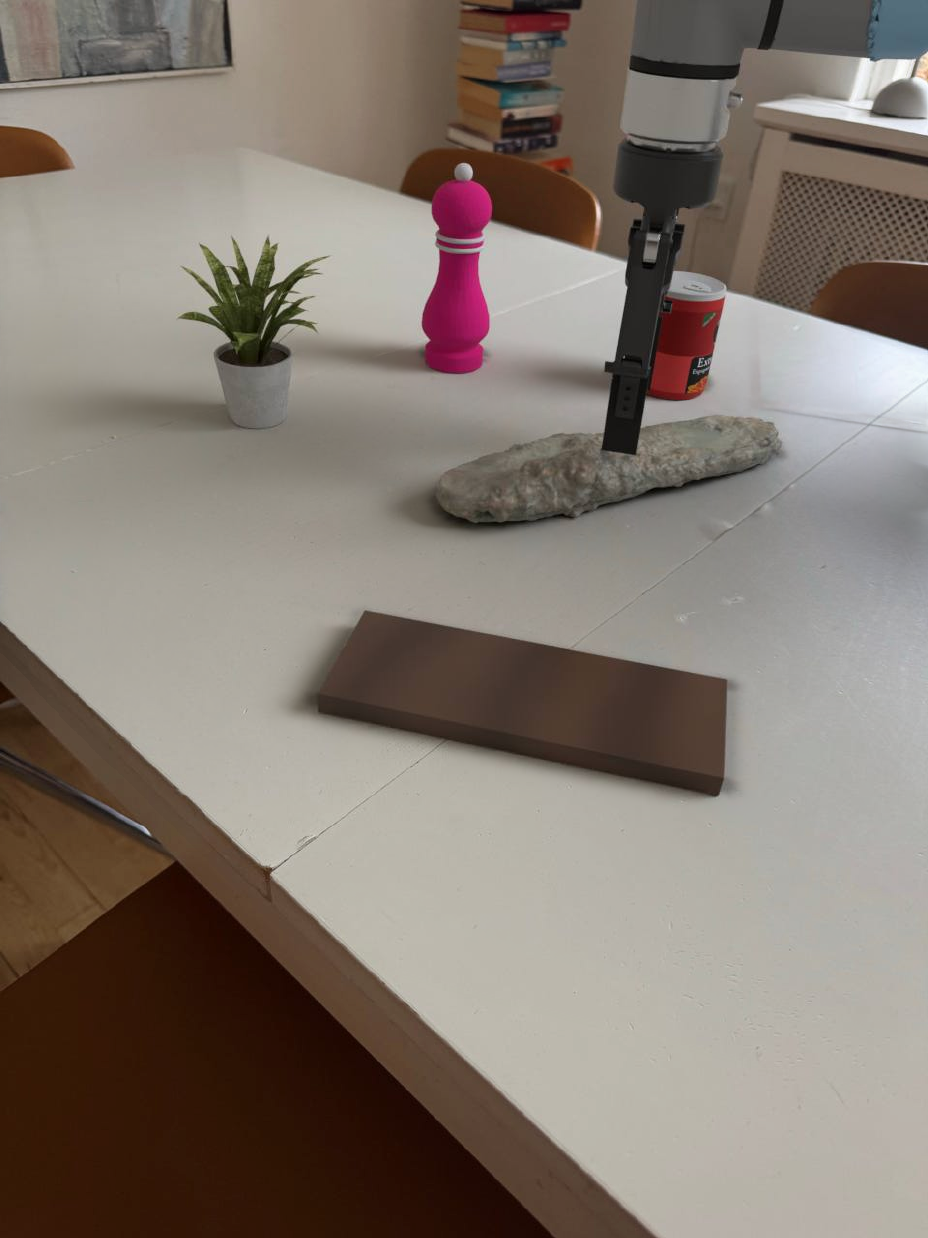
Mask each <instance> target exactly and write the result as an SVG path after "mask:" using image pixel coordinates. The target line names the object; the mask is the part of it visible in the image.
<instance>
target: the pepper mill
mask: <svg viewBox="0 0 928 1238" xmlns="http://www.w3.org/2000/svg"><path fill="white" fill-rule="evenodd" d="M473 173H474V172H473V168H472V166H471V165H470V164H469V163H467V162H461V163H459V164H457V165H456V166H455V168H454V177H455V179H452V180H449V181H446V182H444V183H443V184H441V185H440V186H439V187H438V188H437V189H436V191H435V192H434V194H433V197H432V201H431V216H432V219H433V221H434V223H435V224H436V225H437V227H438V229H437V230H436V232H435V237H436V238H435V239H436V240H435V242H434V245H435V247H436V248H437V249H438V257H439V258H438V259H439V261H438V269H437V275H436V280H435V282H434V285H433V288H432V290H431V292H430V293H429V295H428V297H427V300H426V302H425V305H424V307H423V311H422V314H421V315H422V316H421V329H422V331H423V333H424V335H425V336H426V338H428V340H429V341H428V342H427V343H426V344H425V348H424V349H425V350H424V361H425V364H426V365H427V366H428V367H430V368H431V369H433V370H435V371H438V372H442V373H449V374H466V373H471V372H474V371H476V370H479V369H480V368H481V367H482V366H483V361H484V347H483V345H481V342H482V341H483V340H484V339H485V338H486V337H487V336H488V334H489V333H490V328H491V327H490V326H491V325H490V324H491V322H490V312H489V307H488V303H487V301H486V297H485V294H484V292H483V288H482V285H481V281H480V273H479V270H480V269H479V263H480V262H479V261H480V255H481V252H483V250H484V249H485V247H486V245H485V239H486V234H485V233H483V231H484V229H485V228H486V227H487V225H488V224H489V223H490V222H491V219H492V213H493V212H492V211H493V205H492V199H491V196H490V194H489V192H488V191H487V189H486V188H485V187H484V186H483V185H481V184H480V183H478V182H476V181H473V180H472V178H473V176H474V175H473Z"/></svg>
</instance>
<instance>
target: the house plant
mask: <svg viewBox="0 0 928 1238" xmlns="http://www.w3.org/2000/svg"><path fill="white" fill-rule="evenodd" d="M231 241H232V245H233V251H234V255H235V259H236V260H235V261H236V265H237V267H236V266H231V265H224V263H222V261H221V260H219V258H218V257H217V256H215V254H214V253H213V252H212V250H211V249H210V248H209V247H207V246H205V245H204V244H201V242H199V243H198V244H199V247H200V249H201V251H202V254H203V255H204V257H205V259H206V262H207V264H208V267H209V268H210V271H211V273H212V276H213V279H214V282H215V284H216V289H217V292H218V293H217V292H216V291H215V290H214V288H213V287H212V286H211V285H210V284H209V283H208V282H207V281H205V280H204V279H203V278H202V277H201V275H199V274H198V273H196V272H194V271H193V270H191V269H189V268H187V267H185V266H183V265H180V267H181V269H183V270H184V272H186V273H188V274H189V275H190V276H191V277H193V278H194V280H195V281H196V282H197V283H198V285H199V286H200V287H201V288H202V289H203V290H204V291H205V292H206V293H207V294H208V295H209V296H210V298H212V300H213V301H214V303H215V304H216V305H211V306H209V307H208V311H209V313H210V314H211V315H212V316H213V317H214V318H213V317H211V316H209V315H207V314H204V313H202V312H198V311H188V312H185V313H183V314H181V315H180V316H178V317H177V320H179V319H180V320H181V319H182V320H188V321H196V322H201V323H204V324H207V325H211V326H214V327H216V328H217V329H218V330H219V331H221V332H222V333H224V334H225V336H226V337H227V338H228V339H229V342H225V343H223V344H221V345H219V346H218V347H216V348H215V349H214V351H213V353H212V354H213V358H214V362H215V365H216V370H217V373H218V378H219V380H220V385H221V389H222V392H223V396H224V400H225V403H226V404H225V405H226V407H227V410H228V415H229V418H230V420H231V421H232V422H233V423H234V424H235V425H236V426H238V427H241V428H246V429H256V430H257V429H259V430H260V429H267V428H273V427H276V426H278V425H280V424H282V423H283V422H284V421H285V420H286V417H287V408H288V402H289V401H288V399H289V393H290V383H291V376H292V375H291V374H292V367H293V366H292V365H293V358H294V352H293V350H292V349H291V348H290V347H289V346H288V345H286V344H284V343H282V342H281V341H282V340H283V339H285V338H286V336H288V335H289V334H290V333H291V332H292V331H293V330H294V328H292V329H291V330H290V331H289V332H288V333H287V334H286V335H284V336H283V337H282V338H281V339H280V340H279V341H275V340H274V339H275V338H276V336H277V334H278V332H279V331H280V329H281V327H284V326H286V325H297V326H295V328H297V327H298V326H302V327H307V328H309V329H312V330H313V331H314V332H316V333H317V334H319V332H318V330H317V329H316V327H315V326H314V325H318V323H317V322H314V321H309V320H305V319H302V318H301V319H300V318H294V317H296V316H298V315H300V314H302V313H304V312H308V310H307V309H304V308H302V307H299V306H300V305H301V304H303V302H305V301H307V300H309V299H312V298H315V297H316V295H310V296H305V297H302V298H299V299H297V300H296V301H289V300H286V298H287V296H288V294H300V295H301V294H302V293H301V292H298V291H297V290H292V289H293V287H294V286H295V285H296V284H297V283H298V282H299V281H300V280H302V279H306V278H309V277H311V276H312V277H313V276H314V275H323V273H321V272H318V270H319V268H309V267H310V266H312V265H313V264H316V263H317V262H320V261H323V260H325V259H327V258H329V257H332V256H333V255H325V256H321V257H317V258H314V259H311V260H309V261H306V262H304V263H303V264H301V265H300V266H297V268H295V269H294V270H293V271H291V272H290V273H289V275H287V276H286V278H284V280H282V281H280V282H277V283H275V284H273V285H271V282H272V280H273V279H272V278H273V276H274V273H275V270H276V263H275V256H276V254H277V252H278V248H279V247H278V245H279V244H280V242H277V243H275V244H273V245H272V246H271V241H270V234H268V235H267V236H266V240H265V241H264V244H263V247H262V251H261V254H260V257H259V260H258V263H257V266H256V268H255V270H254V271H255V272H254V275H253V279H252V283H251V278H250V273H249V269H248V266H247V264H246V261H245V259H244V257H243V255H242V252H241V250H240V247H239V245H238V243H237V241H236V240H235V238H234V237H233V235H232V234H231ZM227 268H230V269H231V271H232V272H233V273H234V275H235V277H236V279H237V282H238V284H233V282H232V278H231V277H230V274H229V272H228V270H227ZM308 268H309V269H308ZM316 271H317V272H316ZM270 285H271V286H270ZM273 292H274V294H272V293H273ZM270 294H272V297H271V298H270V300H269V301H268V303H267V304H266V299H267V297H268V296H269V295H270ZM289 303H290V304H291V305H289V306H288V307H286V308H284V309H282V311H280V308H281V307H282V305H287V304H289ZM265 304H266V306H265ZM279 311H280V312H279Z"/></svg>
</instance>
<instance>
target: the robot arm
mask: <svg viewBox="0 0 928 1238" xmlns="http://www.w3.org/2000/svg"><path fill="white" fill-rule="evenodd" d="M745 49H756V50H759V51H760V50H761V51H769V50H774V51H783V52H784V51H785V52H793V53H794V52H795V53H804V54H814V55H824V56H825V55H826V56H835V57H836V56H838V57H848V58H849V57H850V58H860V59H861V58H862V59H869V61H870V62H879V61H881V60H902V61H903V60H905V61H906V60H910V61H912V60H917V59H920V58H922V57H923V56H925V55H926V54H927V53H928V0H636V5H635V14H634V22H633V31H632V40H631V49H630V58H629V65H628V67H627V69H626V77H625V85H624V92H623V100H622V109H621V116H620V122H619V123H620V125H619V128H620V129H621V131H622V132H623V133H624V134H625V135H626V137H625V138H622V140H621V142H619V143H618V144H617V152H616V159H615V160H616V161H615V168H614V175H613V184H612V189H613V192H614V194H615V195H616V196H617V197H618V198H620V199H621V200H623V201H625V202H628V203H631V204H634V203H636V204H639V205H640V206H642V207H643V214H642V218H633V220H632V226H630V229H629V232H628V233H629V234H628V239H627V252H628V256H627V263H626V266H625V267H626V269H625V273H624V284H625V286H626V293H625V298H624V303H623V310H622V317H621V321H620V328H619V333H618V340H617V343H616V344H617V346H616V351H615V357H614V360H613V361H607V360H605V362H604V367H603V373H606V374H612V375H611V383H610V388H609V396H608V402H607V408H606V416H605V423H604V430H603V433H604V436H603V443H602V450H604V451H610V452H617V453H624V454H630V455H636V452H637V446H638V440H639V434H640V428H642V422H643V417H644V411H645V404H646V399H647V398H646V397H647V394H646V393H647V390H650V388H651V383H652V377H653V371H654V366H655V360H656V354H657V348H658V342H659V336H660V331H661V325H662V319H663V315H658V314H659V312H662V313H669V314H671V309H672V303H673V300H666V299H665V295H667V292H668V290H669V289H670V286H671V281H672V276H673V271H675V267H676V264H677V259H678V258H679V257H680V255H681V250H682V246H683V240H684V235H685V230H686V223H678V218H679V213H680V209H687V210H693V209H699V208H704V207H707V206H709V205H710V204H711V203H712V202H714V200H715V198H716V196H717V192H718V191H717V190H718V185H719V180H720V176H721V175H720V174H721V171H722V164H723V159H724V152H723V151H722V148H721V147H720V146H719V145H717V143H719V142H722V141H723V140H724V139H725V138H726V137H727V133H728V128H729V122H730V118H731V112H730V110H729V109H738V108H741V106H742V105H743V101H744V98H743V97H744V96H743V93H741V92H739V91H733V89H734V88H735V87H736V86H737V78H738V76H739V74H740V70H741V69H740V68H741V61H742V58H743V54H744V50H745Z"/></svg>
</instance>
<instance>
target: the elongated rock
mask: <svg viewBox="0 0 928 1238" xmlns="http://www.w3.org/2000/svg"><path fill="white" fill-rule="evenodd" d="M779 434H780V433H779V430H778V429H777V427H776V426H775V423H774V422H773V421H765V420H763V419H762V418H756V417H751V416H749V417H743V416H742V417H741V416H732V415H724V414H715V415H707V416H702V417H701V416H700V417H697V418H695V419H689V420H678V421H673V422H663V423H659V424H658V423H657V424H653V425H645V426H643V427H641V428H640V434H639V440H638V446H637V452H636V455H630V454H624V453H617V452H610V451H604V450H602V443H603V436H604V432H597V433H592V432H588V433H583V432H575V433H565V432H559V433H554V434H552V435H550V436H548V437H545V438H540V439H538V440H533V441H531V442H525V443H518V444H517V443H515V444H512V445H511V446H510V447H509V448H507V449H505V450H503V451H497V452H493V453H490V454H486V455H482V456H480V457H478V458H476V459H474V460H471V461H468V462H465V463H462V464H459V465H458V466H456V467H454V468H450V469H448V470H447V471H445V472H443V473H442V475H441V476H440V477H439V479H438V481H437V483H436V488H435V498H436V500H437V502H438V504H439V505H440V506H441V508H443V510H444V511H445V512H447V513H449V514H451V515H453V516H454V517H456V518H457V517H458V518H462V519H466V520H468V521H469V522H471V523H473V524H478V523H493V522H497V523H503V522H520V521H529V522H533V521H536V520H539V519H543V518H551V517H553V516H555V515H562V514H563V515H564V516H566V517H572V518H579V517H580V515H582V513H584V512H587V511H595V510H596V509H597V508H598V507H599V506H602V505H605V504H609V503H615V502H616V503H617V502H620V501H623V500H626V499H631V498H635V497H637V496H639V495H642V494H645V493H646V492H648V491H650V490H651V489H655V488H668V487H675V488H680V487H682V486H683V484H686V483H689V482H691V481H695V480H696V481H699V480H701V479H706V478H710V477H720V476H722V475H728V474H730V475H731V474H733V473H742V472H743V471H745V470H748V469H749V468H752V467H754V466H756V465H764V464H765V462H766V461H768V459H771V457H772V456H774V455H776V456H779V455H780V452H781V449H782V444H783V441H782V440H781V439H780V438H778V436H779Z"/></svg>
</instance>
